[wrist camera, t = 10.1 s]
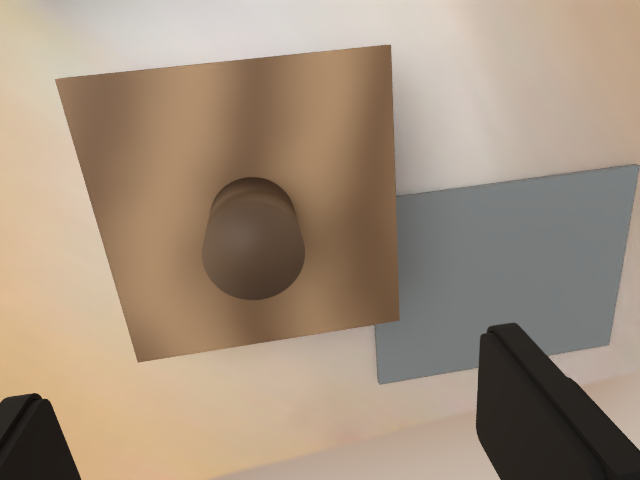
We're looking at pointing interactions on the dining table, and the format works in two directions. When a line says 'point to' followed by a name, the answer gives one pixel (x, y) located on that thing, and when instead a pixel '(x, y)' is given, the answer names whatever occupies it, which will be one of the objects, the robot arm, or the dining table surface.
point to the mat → (506, 268)
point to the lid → (243, 196)
